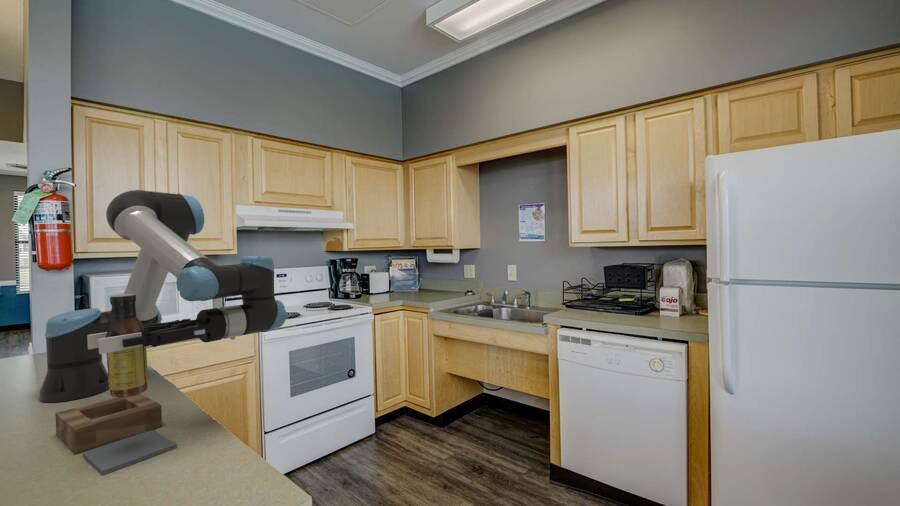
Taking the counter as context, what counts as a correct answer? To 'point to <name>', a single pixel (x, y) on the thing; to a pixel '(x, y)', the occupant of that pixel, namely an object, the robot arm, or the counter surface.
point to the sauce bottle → (126, 350)
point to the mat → (128, 451)
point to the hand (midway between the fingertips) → (93, 344)
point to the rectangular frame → (107, 421)
